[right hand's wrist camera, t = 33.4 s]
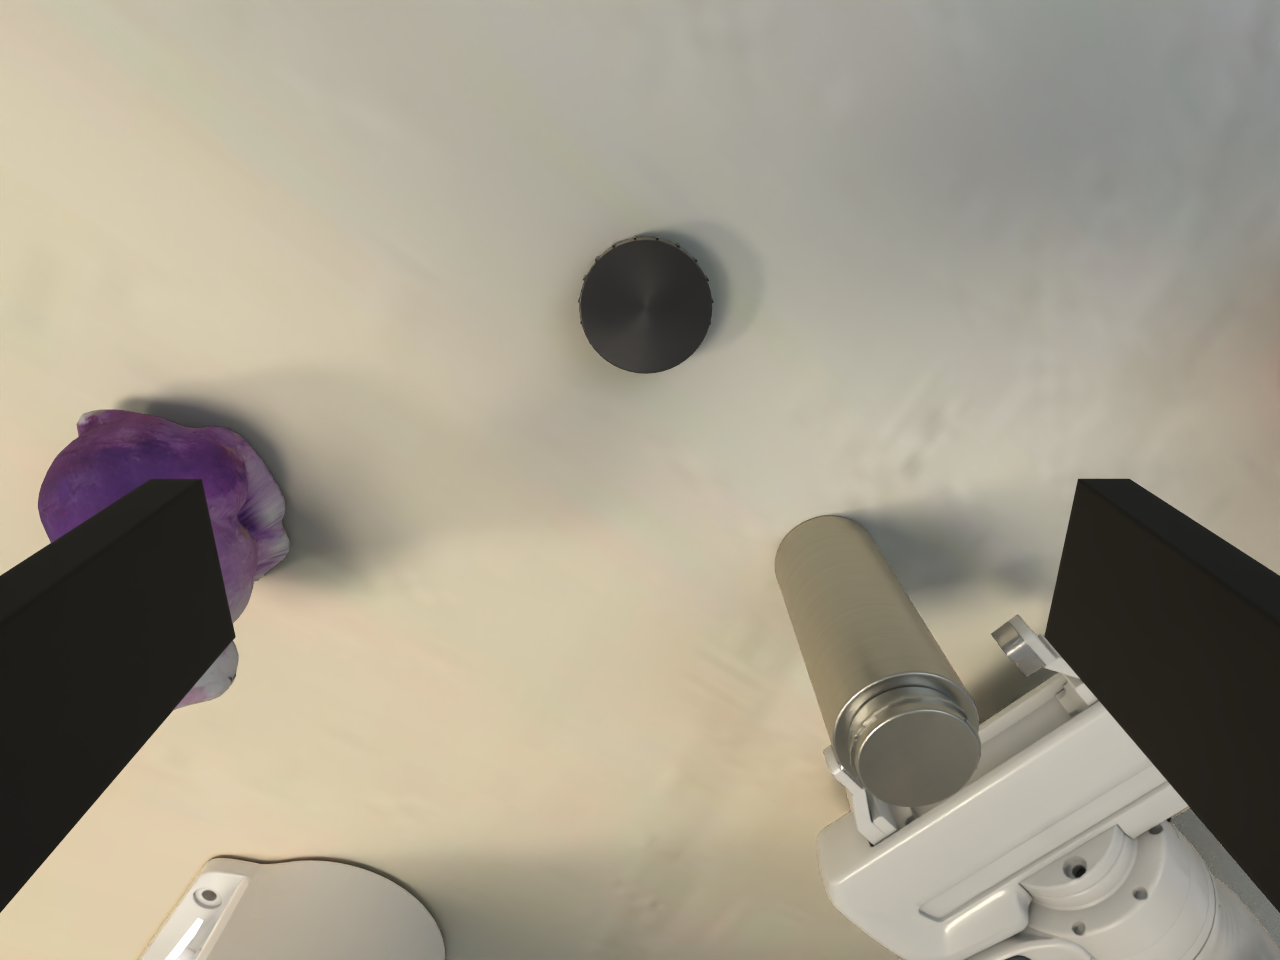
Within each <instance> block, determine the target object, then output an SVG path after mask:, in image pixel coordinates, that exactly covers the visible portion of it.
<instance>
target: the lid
mask: <svg viewBox="0 0 1280 960" xmlns="http://www.w3.org/2000/svg"><path fill="white" fill-rule="evenodd" d="M583 280H584V284H583V287H582V290H581V295H580V298H579V300H578V302H580V308H579V310H580V319H581V322H580V323H581V324H582V327H583V329H584V332H585V335H586V337H587V338H588V340H589V343H590V344H591V345H592V346H593V348H594V349H595V350H596V351H597V352H598V353H599V355H600V356H602V357H603V358H604V359H605V360H606V361H608V362H609V363H611V364H613V365H614V366H616V367H619V368H621V369H623V370H626V371H630V372H635V373H656V372H661V371H665V370H668V369H671V368H673V367H675V366H677V365H679V364H680V363H682V362H683V361H685V360H686V359H687V358H688V357H690V356H691V355H692V354H693V353H694V352H695V351H696V349H697V348H698V347H699V345H701V343H702V341H703V339H704V337H705V335H706V333H707V331H708V328H709V325H710V324H711V322H710V320H711V315H712V303H713V300H712V298H711V292H710V288H709V285H708V282H707V281H709V280H708V278H707V276H705V275H704V273H703V272H702V270H701V268H700V267H699V265H698V264H697V259H696V258H695V257H692V256H691V255H690V254H689V253H687V252H686V251H685V250H684V249H682V248H681V247H680V245H679V244H678V243H677V244H674V243H672V242H670V241H667V240H664V239H661V238H659V237H658V236H656V237H636V236H634V238H631V239H627V240H624V241H622V242H619V243H617V244H616V243H613V245H612V247H610V248H609V249H608V250H606V251H605V252H604V253H603V254H602V255H601V256H600V257H598V256H597V257H596V259H595V263H594V264H593V266H592V267H591V269H590V270H589V272H588V275H585V277H584V279H583Z"/></svg>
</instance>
